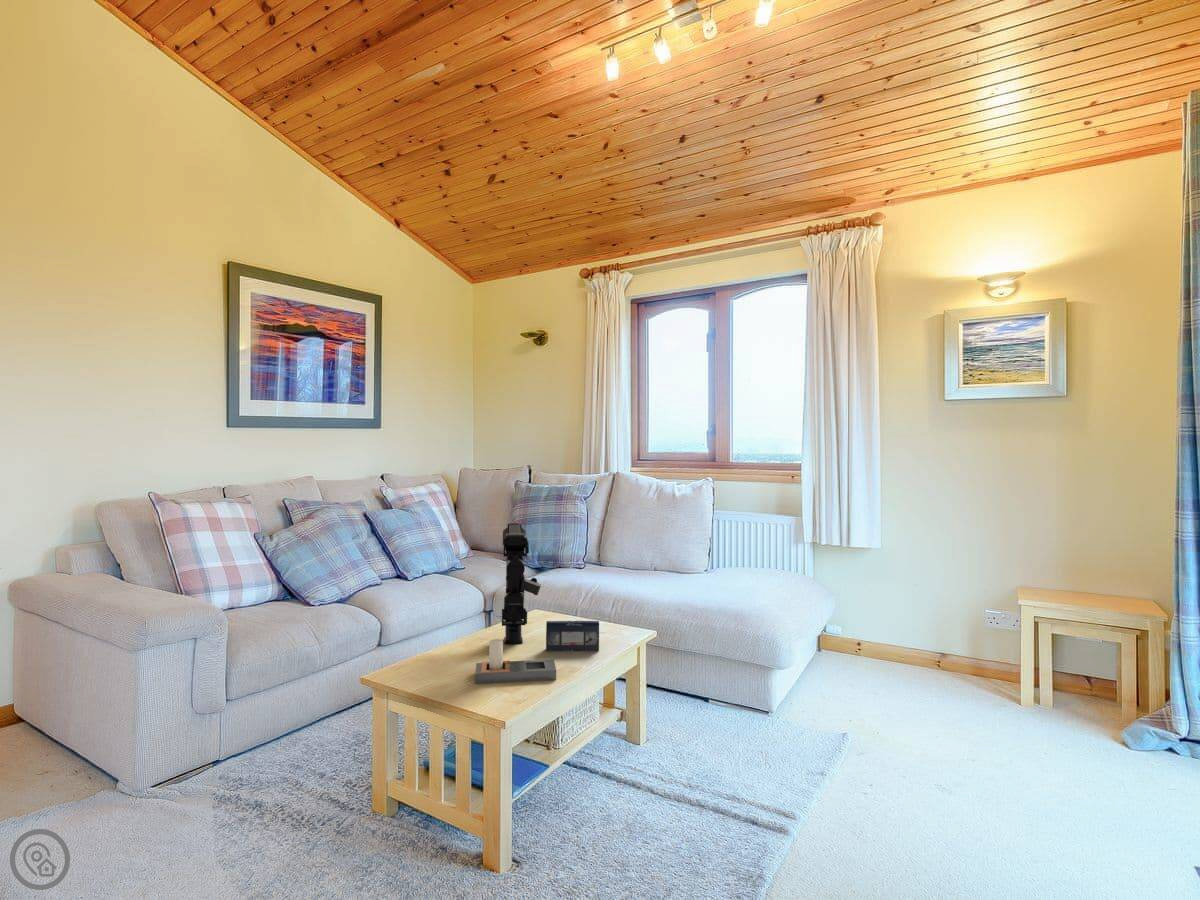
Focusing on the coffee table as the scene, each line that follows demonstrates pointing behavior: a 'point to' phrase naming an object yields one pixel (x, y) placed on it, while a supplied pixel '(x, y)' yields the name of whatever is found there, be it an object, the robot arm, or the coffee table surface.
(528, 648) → the coffee table surface
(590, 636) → the vhs cassette tape
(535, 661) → the rail
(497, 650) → the peg
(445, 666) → the coffee table surface
